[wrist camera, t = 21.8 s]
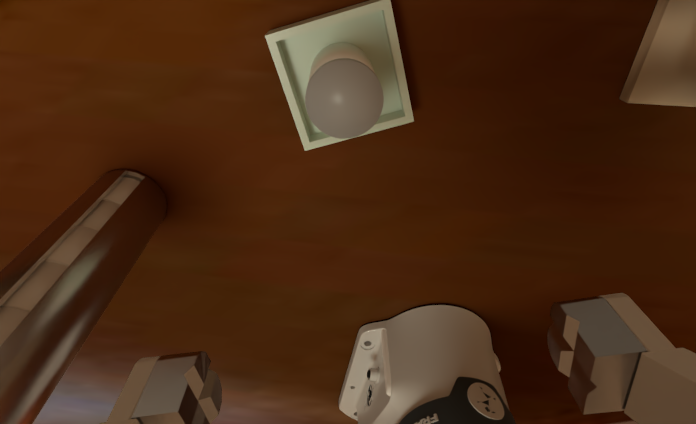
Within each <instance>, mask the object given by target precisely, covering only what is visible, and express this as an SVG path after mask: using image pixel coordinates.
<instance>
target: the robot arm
mask: <svg viewBox="0 0 696 424" xmlns="http://www.w3.org/2000/svg"><path fill="white" fill-rule="evenodd" d="M550 316H551V318H552V319H553V321H554V324H553V325H552V326H551V327H550V328H549V329H548V337H547V341H548V346H549V352H550V354H551V357H552V359H553V362H554V363H555V365H556V367H557V369H558V370H559V371H560V372H562V373H563V374H565V375H566V376H568V377H569V383H568V389H569V391H570V392H571V394H572V396H573V398H574V399H575V401H576V403H577V405H578V406H579V408H580V410H581V412H582V413H583V415H584V414H594V413H605V412H615V411H624V413H625V414H626V415H628V416H629V417H630V418H632V419H633V420H634V421H635V422H637V423H638V424H696V353H693V352H691V351H689V350H687V349H685V348H675V347H674V346H673V345H672V343H671V342H670V341H669V340H668V339H667V338H666V337H665V336H664V335H663V334H662V332H661V331H660V330H659V329H658V328H657V327H656V326H655V325H654V324H653V323H652V321H651V320H650V319H649V318H648V317H647V316H646V315H645V314H644V313H643V312H642V310H641V309H640V308H639V307H638V306H637V305H636V304H635V303H634V302H633V301H632V299H631V298H630V297H629V296H628V295H626V294H624V293H616V294H610V295H603V296H598V297H597V296H595V297H588V298H581V299H575V300H568V301H561V302H554V303H553V305H552V306H551V311H550ZM210 362H211V360H210V359H209V357H208V355H207V353H206V352H203V351H199V352H190V353H181V354H172V355H163V356H157V357H148V358H141V359H140V360H139V361H138V362H137V363H136V364H135V365H134V367H133V369H132V371H131V373H130V376H129V378H128V380H127V382H126V384H125V386H124V388H123V390H122V392H121V394H120V396H119V398H118V400H117V402H116V404H115V406H114V408H113V410H112V412H111V414H110V416H109V418H108V420H107V422H105V423H100V424H210V423H211V422H212V421H213V420H214V419H215V418H216V417H217V416H218V414H219V411H220V407H221V402H222V388H221V383H220V380H219V377H218V375H217V373H215V372H213V371H212V370H210V369H209V366H210ZM500 370H501V366H500V362H499V359H498V357H497V356H496V354H495V353H494V352H493V348H492V341H491V334H490V331H489V329H488V327H487V325H486V323H485V322H484V321H483V320H482V319H481V318H480V317H479V316H477V315H476V314H474V313H472V312H470V311H468V310H466V309H463V308H460V307H455V306H449V305H431V306H424V307H419V308H415V309H412V310H409V311H406V312H404V313H402V314H400V315H398V316H396V317H394V318H392V319H389V320H387V321H381V322H375V323H370V324H367V325H364V326H362V327H361V328H360V329H359V332H358V335H357V339H356V342H355V345H354V349H353V352H352V356H351V359H350V363H349V366H348V369H347V373H346V376H345V380H344V383H343V386H342V390H341V393H340V397H339V402H338V403H339V409H340V410H341V411H342V412H343V413H345V414H346V415H348V416H349V417H351V418H353V419H355V420H358V424H516V423H515V420H514V418H513V415H512V414H511V412H510V411H509V407H508V403H507V400H506V396H505V392H504V389H503V385H502V382H501V378H500V375H499V372H500Z"/></svg>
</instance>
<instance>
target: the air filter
mask: <svg viewBox="0 0 696 424" xmlns="http://www.w3.org/2000/svg"><path fill="white" fill-rule="evenodd" d="M166 212H167V201H166V197H165V195H164V193H163V191H162V190H161V188H160V187H159V186H158V185H157V184H156V183H155V181H153V180H152V179H150V178H149V177H148V176H146V175H144V174H141V173H139V172H137V171H132V170H128V169H117V170H114V171H110V172H107V173H106V174H104V175H103V176H101V177H100V178H99V179H98V180H97V181H96V182H95V183H94V184H93V185H92V186H90V187H89V188H88V189H87V190H86V191H85V192H84V193H83V194H82V195H81V196H80V197H79V198H78V199H77V200H76V201H75V202H73V203H72V204H71V205H70V206H69V207H68V208H67V209H66V210H65V211H64V212H63V213H62V214H61V215H60V216H59V217H58V218H57V219H55V220H54V221H53V222H52V223H51V224H50V225H49V226H48V227H47V228H46V229H45V230H44V231H43V232H42V233H41V234H40V235H38V236H37V237H36V238H35V239H34V240H33V241H32V242H31V243H30V244H29V245H28V246H27V247H26V248H25V249H24V250H23V251H22V252H20V253H19V254H18V255H17V256H16V257H15V258H14V259H13V260H12V261H11V262H10V263H9V264H8V265H7V266H6V267H5V268H4V269H2V270H1V271H0V424H32V423H33V422H34V420H35V418H36V417H37V415H38V414H39V412H40V411H41V409H42V408H43V406H44V404H45V403H46V401H47V400H48V398H49V397H50V395H51V394H52V392H53V390H54V389H55V387H56V386H57V384H58V383H59V381H60V380H61V378H62V376H63V375H64V373H65V372H66V370H67V369H68V367H69V366H70V364H71V362H72V361H73V359H74V358H75V356H76V355H77V353H78V352H79V350H80V348H81V347H82V345H83V344H84V342H85V341H86V339H87V338H88V336H89V334H90V333H91V331H92V330H93V328H94V327H95V325H96V324H97V322H98V320H99V319H100V317H101V316H102V314H103V313H104V311H105V309H106V308H107V306H108V305H109V303H110V302H111V300H112V299H113V297H114V295H115V294H116V292H117V291H118V289H119V288H120V286H121V285H122V283H123V281H124V280H125V278H126V277H127V275H128V274H129V272H130V271H131V269H132V267H133V266H134V264H135V263H136V261H137V260H138V258H139V257H140V255H141V253H142V252H143V250H144V249H145V247H146V246H147V244H148V243H149V241H150V239H151V238H152V236H153V235H154V233H155V232H156V230H157V229H158V227H159V225H160V224H161V222H162V221H163V219H164V217H165V215H166Z"/></svg>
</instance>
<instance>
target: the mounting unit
mask: <svg viewBox="0 0 696 424" xmlns="http://www.w3.org/2000/svg"><path fill="white" fill-rule="evenodd" d="M619 99H620V100H622V101H624V102H626V103H636V104H653V105H671V106H688V107H696V0H658V1H657V4H656V7H655V9H654V12H653V14H652V17H651V19H650V22H649V24H648V27H647V29H646V32H645V34H644V37H643V39H642V42H641V45H640V47H639V50H638V52H637V55H636V57H635V60H634V62H633V65H632V67H631V70H630V72H629V75H628V77H627V80H626V82H625V85H624V88H623V90H622V93H621V95H620V98H619Z"/></svg>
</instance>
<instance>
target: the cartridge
mask: <svg viewBox="0 0 696 424" xmlns="http://www.w3.org/2000/svg"><path fill="white" fill-rule="evenodd" d="M383 102H384V96H383V90H382V87H381V84H380V82H379V80H378V78H377V76H376V74H375V72H374V69H373V67H372V64H371V62H370V60H369V58H368V56H367V55H366V54H365V53H364V52H363V51H362V50H361V49H360V48H358V47H357V46H355V45H352V44H349V43H342V42H341V43H334V44H331V45H328V46H327V47H325V48H323V49H322V50H321V51H320V52H319V53H318V54H317V55H316V57H315V59H314V60H313V63H312V66H311V70H310V76H309V82H308V85H307V89H306V95H305V104H306V110H307V113H308V116H309V118H310V119H311V121H312V122H313V124H314V125H315V126H316V127H317V128H318V129H319V130H320V131H321V132H323V133H325V134H327V135H329V136H331V137H335V138H341V139H347V138H354V137H357V136H360V135H362V134H364V133H365V132H367V131H368V130H369V129H371V128H372V127H373V126H374V124H375V123H376V122H377V120H378V119H379V117H380V115H381V112H382V108H383Z"/></svg>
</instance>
